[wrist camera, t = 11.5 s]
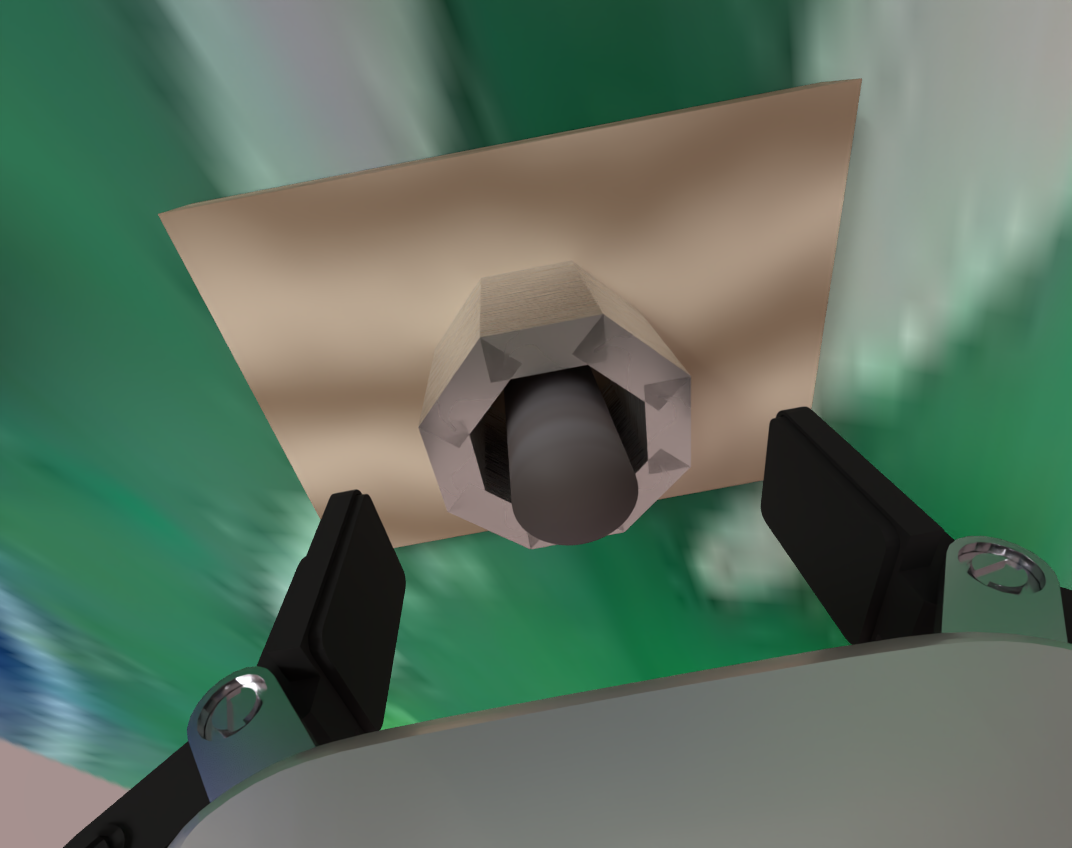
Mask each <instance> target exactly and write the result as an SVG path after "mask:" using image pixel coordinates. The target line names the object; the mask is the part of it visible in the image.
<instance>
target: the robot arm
mask: <svg viewBox="0 0 1072 848" xmlns="http://www.w3.org/2000/svg"><path fill="white" fill-rule="evenodd" d="M761 512H762V516H763V518H764V520H765V522H766V523H767V525H768V526H769V528H770V529H771V531H772V532H773V534H774V535H775V537H776V538H777V539H778V541H779V542H780V544H781V545H782V547H783V548H784V550H785V551H786V553H787V554H788V555H789V557H790V558H791V560H792V561H793V563H794V564H795V566H796V567H797V568H798V570H799V571H800V573H801V574H802V576H803V577H804V579H805V580H806V582H807V583H808V584H809V586H810V587H811V589H812V590H813V592H814V593H815V595H816V596H817V598H818V599H819V600H820V602H821V603H822V605H823V606H824V608H825V609H826V611H827V612H828V613H829V615H830V616H831V618H832V619H833V621H834V622H835V624H836V625H837V627H838V628H839V629H840V631H841V632H842V634H843V635H844V637H845V638H846V639H847V641H848V642H849V643H851V644H852V645H849V646H842V647H836V648H830V649H823V650H818V651H812V652H806V653H800V654H795V655H789V656H783V657H777V658H772V659H766V660H760V661H754V662H749V663H743V664H737V665H731V666H726V667H720V668H714V669H708V670H703V671H697V672H691V673H686V674H680V675H675V676H669V677H664V678H658V679H652V680H647V681H641V682H636V683H630V684H624V685H619V686H613V687H608V688H602V689H597V690H591V691H586V692H580V693H575V694H569V695H564V696H558V697H553V698H547V699H542V700H536V701H531V702H526V703H520V704H515V705H509V706H504V707H499V708H493V709H488V710H482V711H477V712H472V713H466V714H461V715H455V716H450V717H445V718H439V719H435V720H430V721H425V722H420V723H415V724H410V725H405V726H400V727H395V728H390V729H385V730H380V729H381V727H382V724H383V720H384V714H385V708H386V702H387V696H388V690H389V684H390V678H391V672H392V666H393V660H394V654H395V648H396V642H397V636H398V630H399V624H400V617H401V611H402V605H403V599H404V593H405V587H406V580H405V574H404V571H403V569H402V566H401V564H400V562H399V560H398V557H397V555H396V553H395V551H394V548H393V546H392V544H391V542H390V539H389V537H388V535H387V533H386V531H385V528H384V526H383V524H382V522H381V519H380V517H379V515H378V513H377V510H376V508H375V506H374V504H373V501H372V499H371V497H370V496H369V495H368V494H362V493H361V491H359V490H358V489H355V490H350V491H344V492H339V493H334V494H332V495H331V496H330V498H329V501H328V503H327V506H326V508H325V511H324V513H323V516H322V518H321V521H320V523H319V526H318V528H317V530H316V533H315V535H314V538H313V540H312V543H311V545H310V548H309V550H308V553H307V555H306V557H304V558H303V559H302V560H301V561H300V563H299V565H298V567H297V569H296V572H295V574H294V577H293V579H292V582H291V584H290V586H289V589H288V591H287V594H286V596H285V599H284V601H283V603H282V606H281V608H280V611H279V613H278V616H277V618H276V620H275V623H274V625H273V628H272V630H271V633H270V635H269V637H268V640H267V642H266V645H265V647H264V650H263V652H262V654H261V657H260V659H259V662H258V664H257V666H255V667H246V668H244V669H241V670H238V671H235V672H233V673H231V674H230V675H228V676H226V677H225V678H223V679H222V680H220V681H219V682H218V683H217V684H215V685H214V686H213V687H212V688H211V689H210V690H208V692H207V693H206V694H205V695H204V696H203V698H202V699H201V700H200V701H199V702H198V704H197V706H196V707H195V709H194V711H193V713H192V714H191V716H190V720H189V724H188V727H187V735H188V742H187V743H185V744H184V745H183V746H182V747H181V748H179V749H178V750H177V751H176V752H175V753H173V754H172V755H171V756H170V757H169V758H168V759H166V760H165V761H164V762H163V763H162V764H160V765H159V766H158V767H157V768H156V769H154V770H153V771H152V772H151V773H150V774H148V775H147V776H146V777H145V778H144V779H142V780H141V781H140V782H139V783H138V784H137V785H135V786H134V787H133V788H132V789H131V790H129V791H128V792H127V793H126V794H125V795H123V797H121V798H120V799H119V800H117V801H116V802H115V803H114V804H113V805H112V806H110V807H109V808H108V809H107V810H105V811H104V812H103V813H102V814H101V815H100V816H98V817H97V818H96V819H95V820H94V821H92V822H91V823H90V824H89V825H88V826H86V827H85V828H84V829H83V830H82V831H81V832H79V833H78V834H77V835H76V836H75V837H74V838H73V839H72V840H70V841H69V842H68V844H66V845H65V846H64V847H63V848H1072V590H1069V589H1065V588H1062V587H1060V585H1059V581H1058V579H1057V576H1056V574H1055V572H1054V571H1053V570H1052V569H1051V567H1050V566H1049V565H1048V564H1047V563H1046V562H1045V561H1044V560H1042V559H1041V558H1039V557H1038V556H1037V555H1035V554H1034V553H1032V552H1031V551H1029V550H1027V549H1025V548H1023V547H1021V546H1019V545H1017V544H1014V543H1011V542H1008V541H1005V540H1001V539H998V538H992V537H986V536H967V537H964V538H960V539H957V540H954V539H953V538H951V537H950V536H949V535H948V534H947V533H946V532H945V531H944V529H943V528H942V527H941V526H939V525H938V524H937V523H936V522H935V521H934V520H933V519H932V518H931V517H929V516H928V515H927V514H926V513H925V512H924V511H923V510H922V509H921V508H919V507H918V506H917V505H916V504H915V503H914V502H913V501H912V500H911V499H910V498H908V497H907V496H906V495H905V494H904V493H903V492H902V491H901V490H900V489H898V488H897V487H896V486H895V485H894V484H893V483H892V482H891V481H890V480H889V479H887V478H886V477H885V476H884V475H883V474H882V473H881V472H880V471H879V470H877V469H876V468H875V467H874V466H873V465H872V464H871V463H870V462H869V461H868V460H866V459H865V458H864V457H863V456H862V455H861V454H860V453H859V452H858V451H856V450H855V449H854V448H853V447H852V446H851V445H850V444H849V443H848V442H847V441H845V440H844V439H843V438H842V437H841V436H840V435H839V434H838V433H837V432H835V431H834V430H833V429H832V428H831V427H830V426H829V425H828V424H827V423H826V422H824V421H823V420H822V419H821V418H820V417H819V416H818V415H817V414H816V413H814V412H813V411H812V410H811V409H810V408H808V407H806V406H803V407H797V408H792V409H786V410H781V411H779V412H778V413H777V415H776V418H773V419H771V421H770V423H769V432H768V441H767V451H766V460H765V470H764V480H763V489H762V499H761ZM379 730H380V731H379ZM375 731H376V732H375Z"/></svg>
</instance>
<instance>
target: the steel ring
mask: <svg viewBox="0 0 1072 848" xmlns="http://www.w3.org/2000/svg"><path fill="white" fill-rule="evenodd" d="M583 365H589V366H591V367H592V368H594V369H595V370H597V371H598V372H600V373H601V374H603V375H604V376H606V377H607V378H609V379H610V380H609V381H608V383H607V384H606V385H605V386H604V387H603V388H602V390H601V394H602V396H603V399H604V401H605V403H606V406H607V408H608V410H609V413H610V415H611V418H612V420H613V422H614V425H615V427H616V430H617V432H618V434H619V437H620V439H621V442H622V444H623V446H624V449H625V451H626V454H627V456H628V458H629V461H630V463H631V465H632V468H633V470H634V473H635V475H636V478H637V481H638V499H637V502H636V505H635V508H634V509H633V511H632V513H631V515H630V516H629V517H628V519H627V520H626V521H625V522H624V523H623V524H622V525H621V526H620V527H619V528H618V529H616V530H615V531H613V532H612V533H610V534H608V535H611V534H617V533H622V532H625V531H626V530H627V529H628V528H629V527H630V526H631V525H632V524H633V523H634V522H635V521H636V520H637V519H638V518H639V517H640V516H641V515H642V514H643V513H644V512H645V511H646V510H647V509H648V508H649V507H650V506H651V505H652V504H653V503H654V502H656V501H657V500H658V499H659V498H660V497H661V496H662V495H663V494H664V493H665V492H666V491H667V490H668V489H669V488H670V487H671V486H672V485H673V484H674V483H675V482H676V481H677V480H678V479H679V478H680V477H681V476H682V475H683V474H684V473H685V472H686V471H687V470H688V469H689V468H690V467H691V375H690V374H689V373H688V372H687V370H686V369H685V368H684V367H683V365H682V364H681V363H680V361H679V360H678V359H677V358H676V356H675V355H674V354H673V353H672V351H671V350H670V349H669V348H668V346H667V345H666V344H665V342H664V341H663V340H662V339H661V337H660V336H659V335H658V334H657V332H656V331H655V330H654V329H653V327H652V326H651V325H650V323H649V322H648V321H647V320H646V318H645V317H644V316H643V315H642V313H641V312H640V311H639V310H638V309H637V308H635V307H634V306H633V305H631V304H630V303H629V302H627V301H626V300H625V299H623V298H622V297H620V296H619V295H618V294H616V293H615V292H614V291H612V290H611V289H610V288H608V287H607V286H606V285H604V284H603V283H601V282H600V281H599V280H597V279H596V278H595V277H593V276H592V275H591V274H589V273H588V272H587V271H585V270H584V269H582V268H581V267H580V266H578V265H577V264H576V263H574V262H573V261H572V260H571V261H566V262H560V263H555V264H550V265H545V266H540V267H534V268H529V269H524V270H519V271H513V272H508V273H503V274H498V275H492V276H487V277H482V278H480V280H479V282H478V283H477V285H476V286H475V288H474V289H473V291H472V292H471V294H470V295H469V297H468V299H467V300H466V302H465V303H464V305H463V306H462V308H461V309H460V311H459V312H458V314H457V316H456V317H455V319H454V320H453V322H452V323H451V325H450V326H449V328H448V329H447V331H446V332H445V334H444V336H443V337H442V339H441V340H440V342H439V343H438V345H437V346H436V348H435V351H434V355H433V360H432V365H431V369H430V374H429V379H428V384H427V388H426V393H425V398H424V402H423V407H422V412H421V417H420V421H419V426H418V428H419V431H420V434H421V437H422V440H423V442H424V445H425V448H426V451H427V454H428V457H429V460H430V463H431V466H432V468H433V471H434V474H435V477H436V480H437V483H438V486H439V489H440V491H441V494H442V497H443V500H444V503H445V506H446V509H447V512H449V513H451V514H453V515H456V516H458V517H460V518H462V519H464V520H467V521H469V522H471V523H473V524H476V525H478V526H480V527H482V528H484V529H487V530H489V531H491V532H493V533H496V534H498V535H500V536H502V537H504V538H507V539H509V540H511V541H513V542H516V543H518V544H520V545H522V546H524V547H527V548H529V549H535V548H541V547H546V546H551V545H557V544H552V543H548V542H544V541H542V540H539V539H537V538H535V537H534V536H532V535H530V534H529V533H528V532H526V531H525V530H524V529H523V528H522V527H521V525H520V524H519V523H518V521H517V520H516V518H515V515H514V513H513V509H512V501H511V486H510V472H509V458H508V443H507V429H506V415H505V414H504V413H502V412H500V411H498V410H496V409H495V408H493V407H491V405H492V404H493V402H494V401H495V400H496V398H497V397H498V396H499V394H500V393H501V391H502V390H503V389H504V387H505V386H506V385H507V383H508V382H509V381H510V379H514V378H520V377H525V376H530V375H535V374H541V373H546V372H551V371H557V370H562V369H567V368H573V367H578V366H583Z"/></svg>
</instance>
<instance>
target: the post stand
mask: <svg viewBox="0 0 1072 848" xmlns="http://www.w3.org/2000/svg"><path fill="white" fill-rule="evenodd" d="M861 83H862V79H851V80H841V81H830V82H820V83H815V84H810V85H805V86H800V87H794V88H789V89H784V90H779V91H774V92H768V93H763V94H758V95H753V96H748V97H742V98H737V99H732V100H727V101H722V102H717V103H711V104H706V105H701V106H696V107H691V108H685V109H680V110H675V111H670V112H665V113H660V114H654V115H649V116H644V117H639V118H634V119H628V120H623V121H618V122H613V123H608V124H602V125H597V126H592V127H587V128H582V129H577V130H571V131H566V132H561V133H556V134H551V135H545V136H540V137H535V138H530V139H525V140H520V141H514V142H509V143H504V144H499V145H494V146H488V147H483V148H478V149H473V150H468V151H462V152H457V153H452V154H447V155H442V156H437V157H431V158H426V159H421V160H416V161H411V162H405V163H400V164H395V165H390V166H385V167H379V168H374V169H369V170H364V171H359V172H354V173H348V174H343V175H338V176H333V177H328V178H322V179H317V180H312V181H307V182H302V183H297V184H291V185H286V186H281V187H276V188H271V189H265V190H260V191H255V192H250V193H245V194H239V195H234V196H229V197H224V198H219V199H214V200H208V201H203V202H198V203H193V204H190V205H186V206H183V207H180V208H177V209H173V210H170V211H167V212H163V213H160V214H158V215H159V217H160V219H161V221H162V223H163V225H164V226H165V228H166V230H167V232H168V234H169V236H170V238H171V240H172V241H173V243H174V245H175V247H176V249H177V251H178V253H179V255H180V256H181V258H182V260H183V262H184V264H185V266H186V268H187V270H188V272H189V273H190V275H191V277H192V279H193V281H194V283H195V285H196V287H197V288H198V290H199V292H200V294H201V296H202V298H203V300H204V302H205V303H206V305H207V307H208V309H209V311H210V313H211V315H212V317H213V318H214V320H215V322H216V324H217V326H218V328H219V330H220V332H221V333H222V335H223V337H224V339H225V341H226V343H227V345H228V347H229V348H230V350H231V352H232V354H233V356H234V358H235V360H236V362H237V364H238V365H239V367H240V369H241V371H242V373H243V375H244V377H245V379H246V380H247V382H248V384H249V386H250V388H251V390H252V392H253V394H254V395H255V397H256V399H257V401H258V403H259V405H260V407H261V409H262V410H263V412H264V414H265V416H266V418H267V420H268V422H269V424H270V425H271V427H272V429H273V431H274V433H275V435H276V437H277V439H278V441H279V442H280V444H281V446H282V448H283V450H284V452H285V454H286V456H287V457H288V459H289V461H290V463H291V465H292V467H293V469H294V471H295V472H296V474H297V476H298V478H299V480H300V482H301V484H302V486H303V487H304V489H305V491H306V493H307V495H308V497H309V499H310V501H311V502H312V504H313V506H314V508H315V510H316V512H317V514H318V516H319V517H320V519H321V518H322V516H323V513H324V511H325V508H326V506H327V503H328V501H329V498H330V496H331V495H332V494H334V493H339V492H344V491H350V490H355V489H358V490H359V491H361V493H362V494H368V495H369V496H370V497H371V499H372V501H373V504H374V506H375V508H376V510H377V513H378V515H379V517H380V519H381V522H382V524H383V526H384V528H385V531H386V533H387V535H388V537H389V539H390V542H391V544H392V546H393V548H396V547H402V546H407V545H413V544H418V543H424V542H429V541H434V540H440V539H445V538H451V537H456V536H462V535H467V534H473V533H478V532H484V531H489V530H487V529H484V528H482V527H480V526H478V525H476V524H473V523H471V522H469V521H467V520H464V519H462V518H460V517H458V516H456V515H453V514H451V513H449V512H447V509H446V506H445V503H444V500H443V497H442V494H441V491H440V489H439V486H438V483H437V480H436V477H435V474H434V471H433V468H432V466H431V463H430V460H429V457H428V454H427V451H426V448H425V445H424V442H423V440H422V437H421V434H420V431H419V428H418V426H419V421H420V417H421V412H422V407H423V402H424V398H425V393H426V388H427V384H428V379H429V374H430V369H431V365H432V360H433V355H434V351H435V348H436V346H437V345H438V343H439V342H440V340H441V339H442V337H443V336H444V334H445V332H446V331H447V329H448V328H449V326H450V325H451V323H452V322H453V320H454V319H455V317H456V316H457V314H458V312H459V311H460V309H461V308H462V306H463V305H464V303H465V302H466V300H467V299H468V297H469V295H470V294H471V292H472V291H473V289H474V288H475V286H476V285H477V283H478V282H479V280H480V278H482V277H487V276H492V275H498V274H503V273H508V272H513V271H519V270H524V269H529V268H534V267H540V266H545V265H550V264H555V263H560V262H566V261H571V260H572V261H573V262H574V263H576V264H577V265H578V266H580V267H581V268H582V269H584V270H585V271H587V272H588V273H589V274H591V275H592V276H593V277H595V278H596V279H597V280H599V281H600V282H601V283H603V284H604V285H606V286H607V287H608V288H610V289H611V290H612V291H614V292H615V293H616V294H618V295H619V296H620V297H622V298H623V299H625V300H626V301H627V302H629V303H630V304H631V305H633V306H634V307H635V308H637V309H638V310H639V311H640V312H641V313H642V315H643V316H644V317H645V318H646V320H647V321H648V322H649V323H650V325H651V326H652V327H653V329H654V330H655V331H656V332H657V334H658V335H659V336H660V337H661V339H662V340H663V341H664V342H665V344H666V345H667V346H668V348H669V349H670V350H671V351H672V353H673V354H674V355H675V356H676V358H677V359H678V360H679V361H680V363H681V364H682V365H683V367H684V368H685V369H686V370H687V372H688V373H689V374H690V375H691V467H690V468H689V469H688V470H687V471H686V472H685V473H684V474H683V475H682V476H681V477H680V478H679V479H678V480H677V481H676V482H675V483H674V484H673V485H672V486H671V487H670V488H669V489H668V490H667V491H666V492H665V493H664V494H663V495H662V496H661V497H660V498H659V499H663V498H669V497H674V496H680V495H685V494H691V493H696V492H702V491H707V490H712V489H718V488H723V487H729V486H734V485H740V484H745V483H751V482H756V481H761V480H764V470H765V460H766V451H767V441H768V432H769V423H770V421H771V419H773V418H776V415H777V413H778V412H779V411H781V410H786V409H792V408H797V407H803V406H806V407H808V408H810V409H811V408H812V401H813V395H814V388H815V382H816V375H817V369H818V362H819V356H820V349H821V343H822V336H823V330H824V323H825V317H826V310H827V304H828V297H829V291H830V284H831V278H832V271H833V265H834V258H835V252H836V245H837V239H838V232H839V226H840V219H841V213H842V206H843V200H844V193H845V187H846V180H847V174H848V167H849V161H850V154H851V148H852V141H853V135H854V128H855V122H856V115H857V109H858V102H859V96H860V89H861ZM609 380H610V379H609V378H607V377H606V376H604V375H603V374H601V373H600V372H598V371H597V370H595V369H594V368H592V367H591V366H589V365H583V366H578V367H573V368H567V369H562V370H557V371H551V372H546V373H541V374H535V375H530V376H525V377H520V378H514V379H510V381H509V382H508V383H507V385H506V386H505V387H504V389H503V390H502V391H501V393H500V394H499V396H498V397H497V398H496V400H495V401H494V402H493V404H492V405H491V407H493V408H495V409H496V410H498V411H500V412H502V413H504V414H505V415H506V429H507V443H508V458H509V472H510V486H511V501H512V509H513V513H514V515H515V518H516V520H517V521H518V523H519V524H520V525H521V527H522V528H523V529H524V530H525V531H526V532H528V533H529V534H530V535H532V536H534V537H535V538H537V539H539V540H542V541H544V542H548V543H552V544H557V545H578V544H584V543H589V542H592V541H595V540H598V539H600V538H603V537H605V536H607V535H608V534H610V533H612V532H613V531H615V530H616V529H618V528H619V527H620V526H621V525H622V524H623V523H624V522H625V521H626V520H627V519H628V517H629V516H630V515H631V513H632V511H633V509H634V508H635V505H636V502H637V499H638V481H637V478H636V475H635V473H634V470H633V468H632V465H631V463H630V461H629V458H628V456H627V454H626V451H625V449H624V446H623V444H622V442H621V439H620V437H619V434H618V432H617V430H616V427H615V425H614V422H613V420H612V418H611V415H610V413H609V410H608V408H607V406H606V403H605V401H604V399H603V396H602V394H601V390H602V388H603V387H604V386H605V385H606V384H607V383H608V381H609Z"/></svg>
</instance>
